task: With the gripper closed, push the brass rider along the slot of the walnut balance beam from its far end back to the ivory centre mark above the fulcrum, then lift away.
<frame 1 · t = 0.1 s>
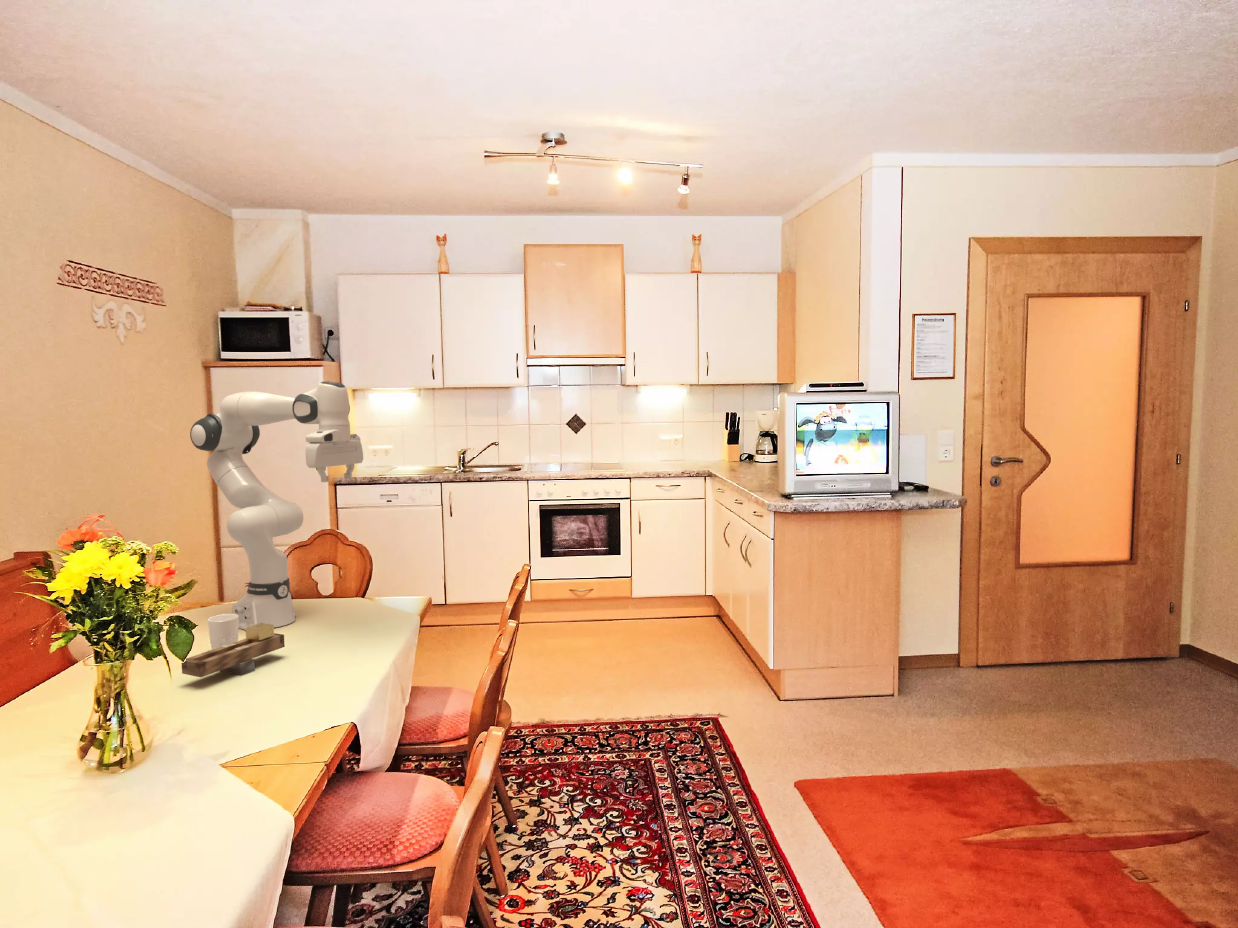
hand: (336, 480, 233), 48 cm above the table, tool pointing down, fingers open, 8 cm apart
white cup: (225, 651, 222), on the table
rider: (260, 635, 212), point 7 cm above the table, slide at 8.0 cm
beam: (236, 670, 206), on the table
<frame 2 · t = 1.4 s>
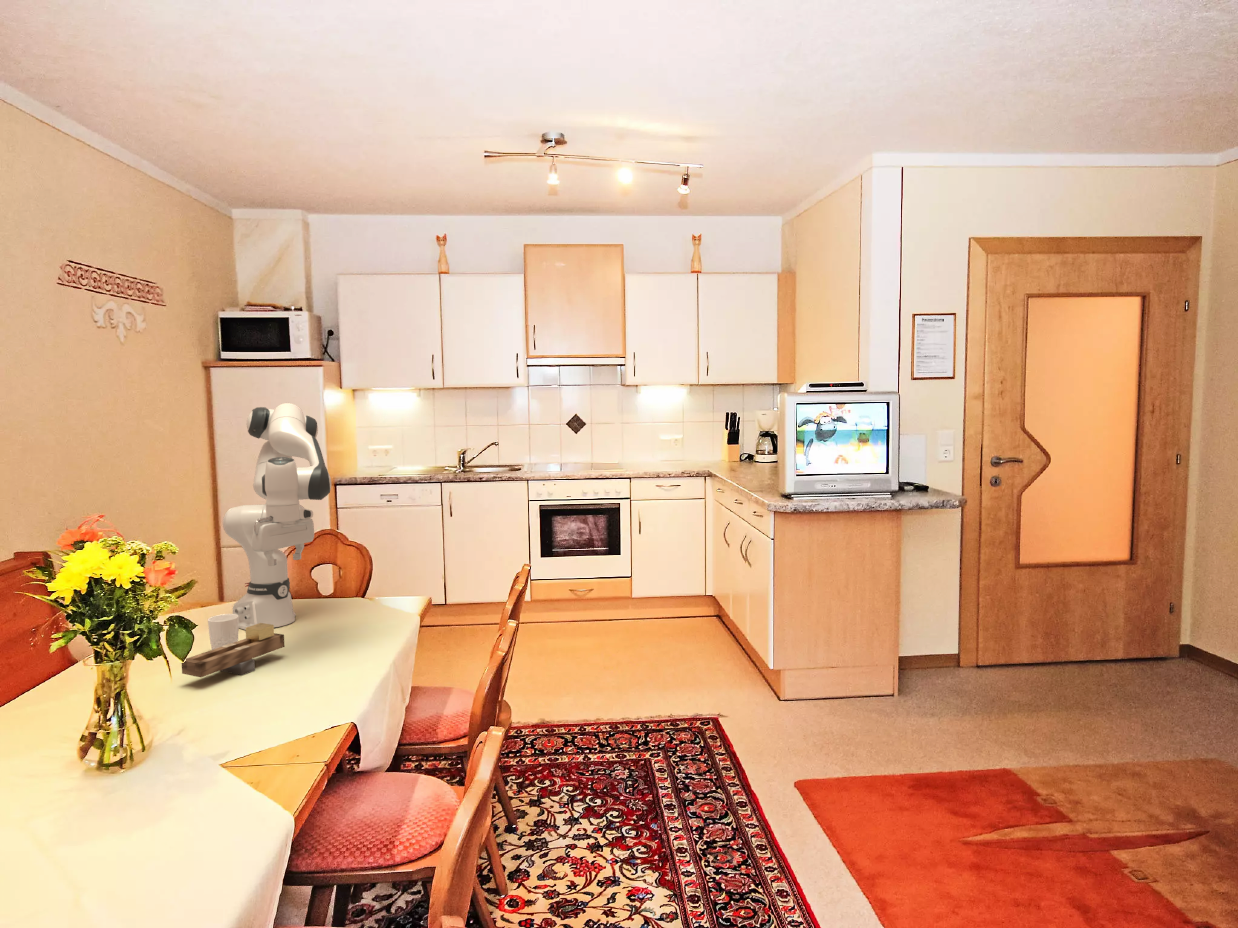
hand: (285, 562, 219), 26 cm above the table, tool pointing down, fingers open, 8 cm apart
nothing on the table moved.
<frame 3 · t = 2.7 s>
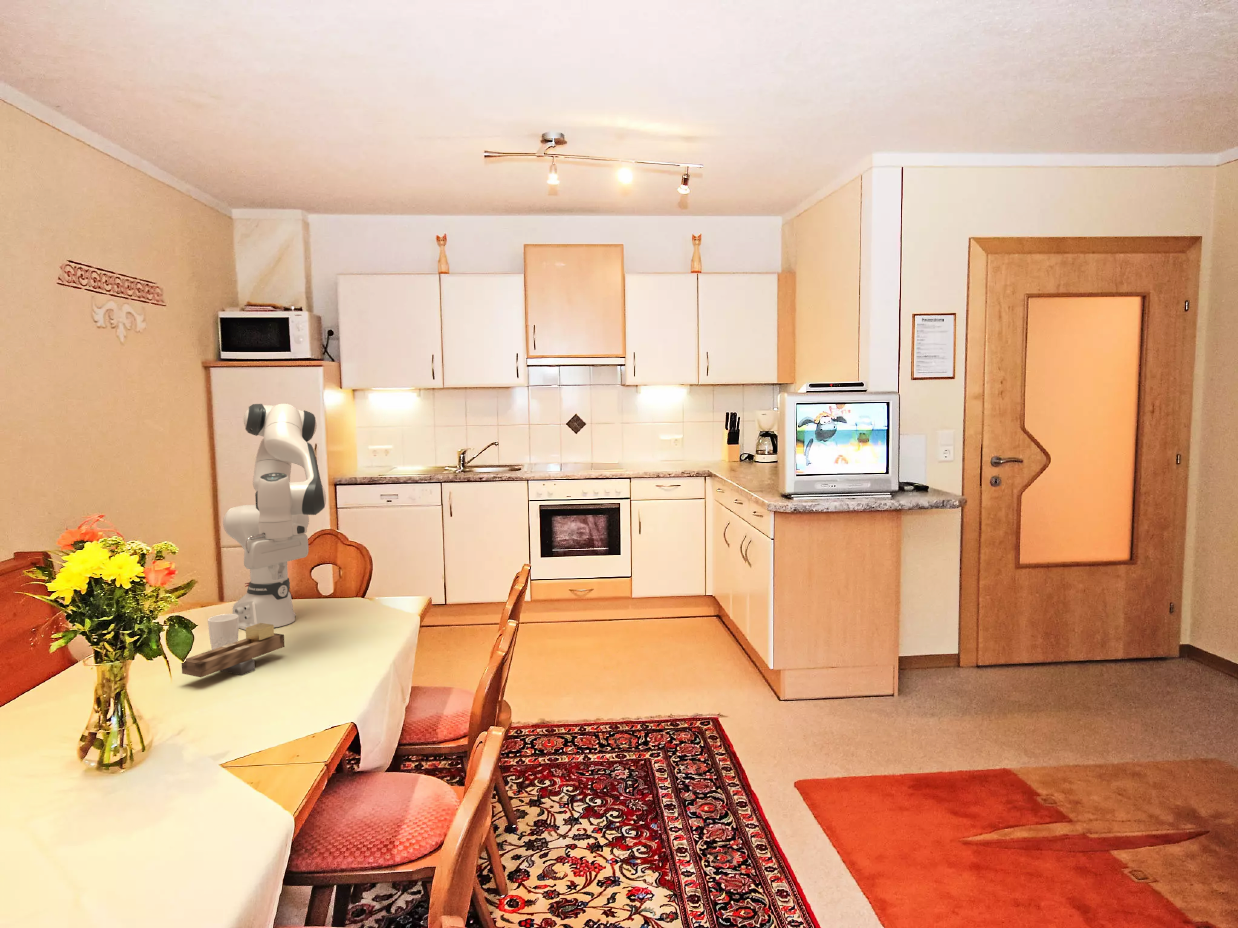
hand: (278, 578, 217), 22 cm above the table, tool pointing down, fingers closed
nothing on the table moved.
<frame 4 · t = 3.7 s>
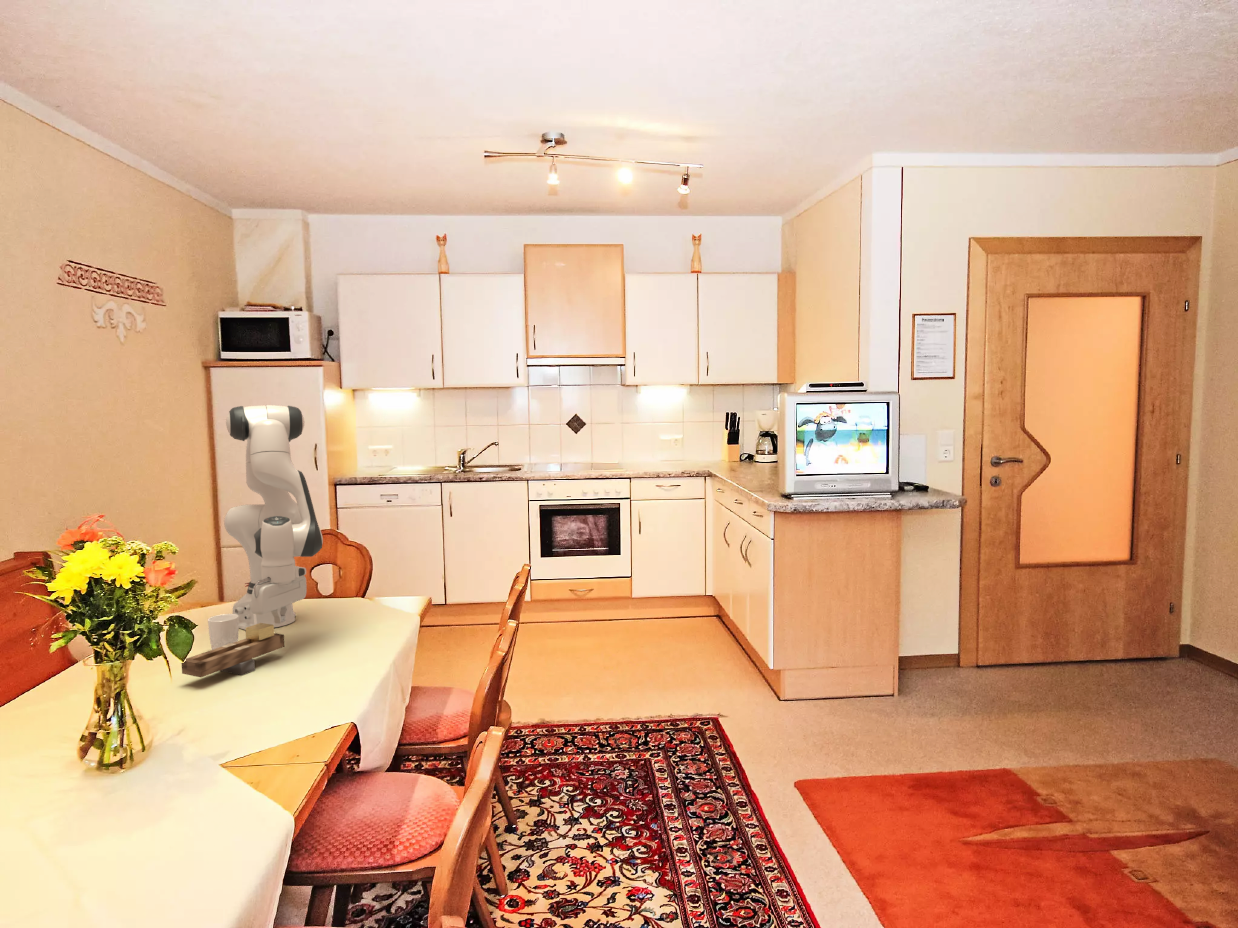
hand: (280, 622, 218), 9 cm above the table, tool pointing down, fingers closed
nothing on the table moved.
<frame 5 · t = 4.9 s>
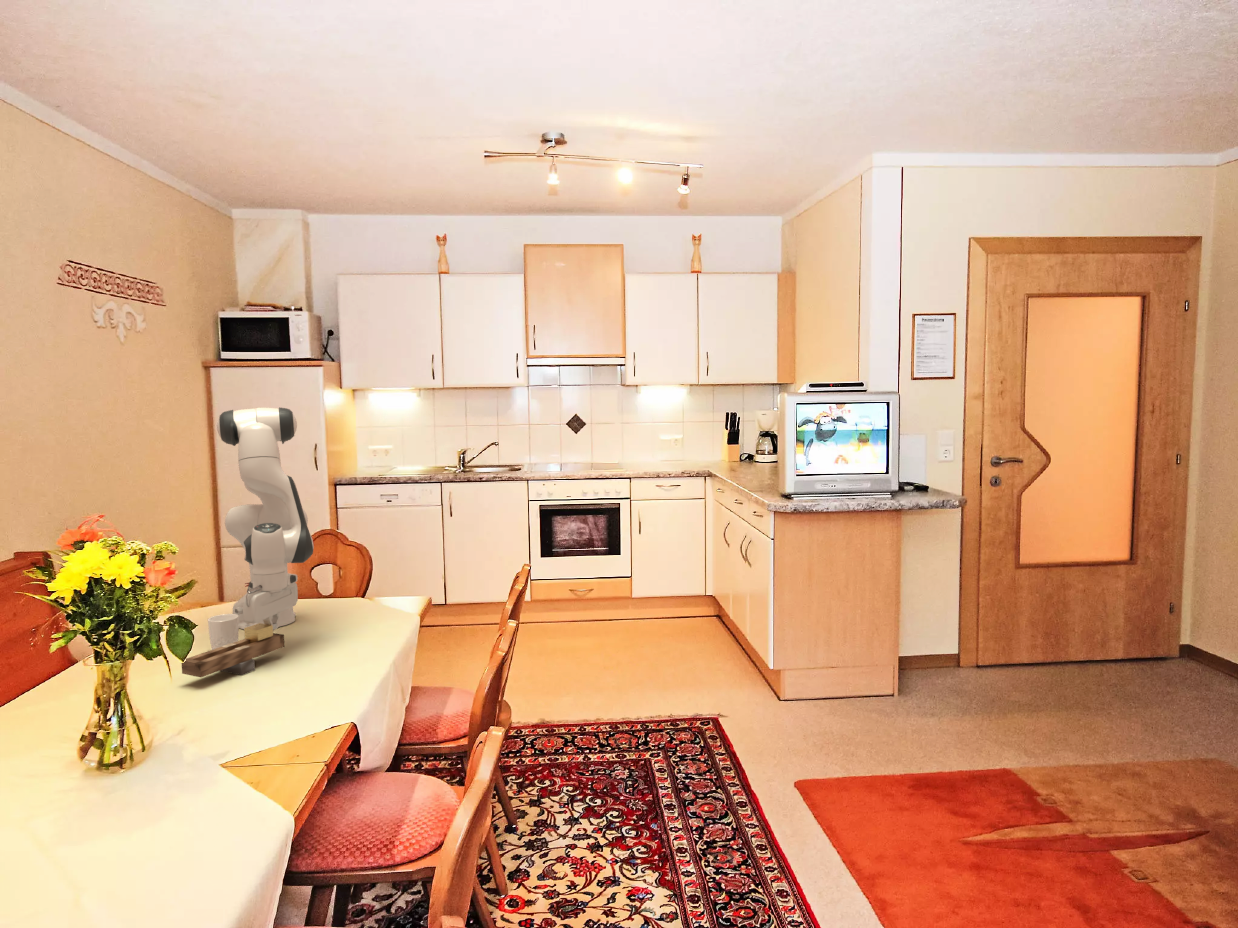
hand: (272, 629, 216), 8 cm above the table, tool pointing down, fingers closed
rider: (259, 635, 212), point 7 cm above the table, slide at 7.6 cm, touching gripper
everything else where it was.
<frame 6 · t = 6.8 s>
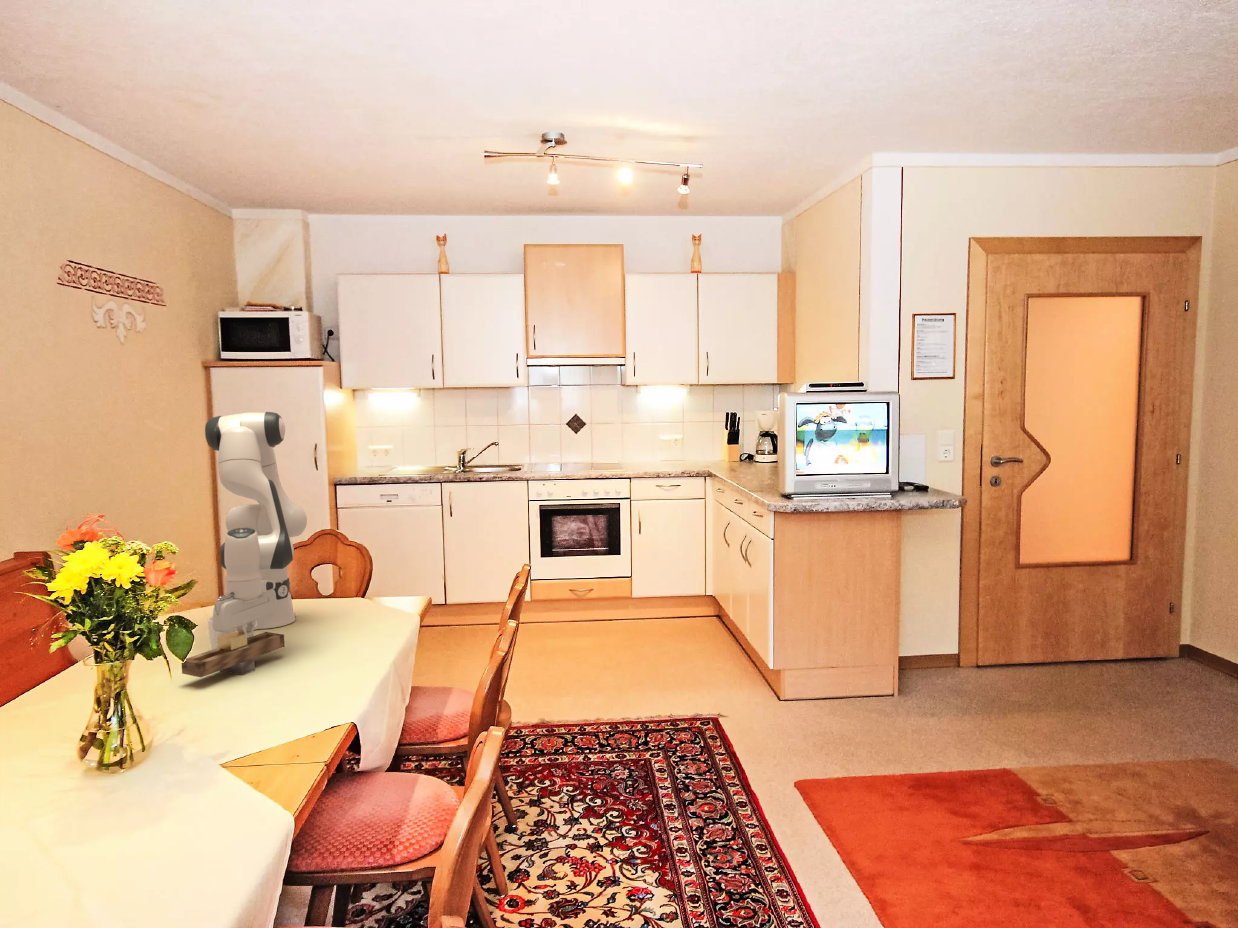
hand: (246, 638, 208), 8 cm above the table, tool pointing down, fingers closed
rider: (232, 644, 204), point 7 cm above the table, slide at -0.8 cm, touching gripper
everything else where it was.
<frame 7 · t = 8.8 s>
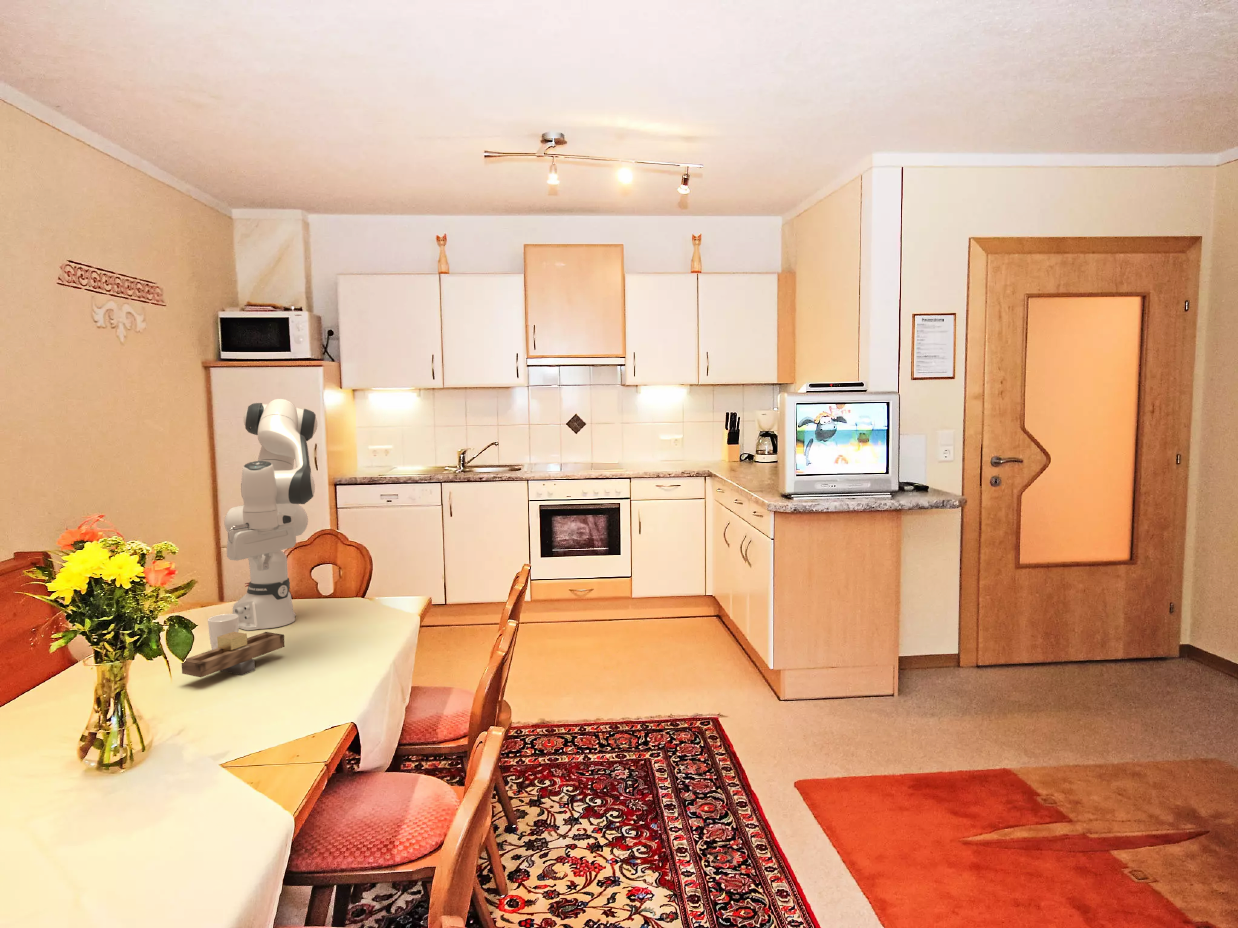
hand: (263, 569, 212), 25 cm above the table, tool pointing down, fingers closed
rider: (232, 644, 204), point 7 cm above the table, slide at -0.8 cm
everything else where it was.
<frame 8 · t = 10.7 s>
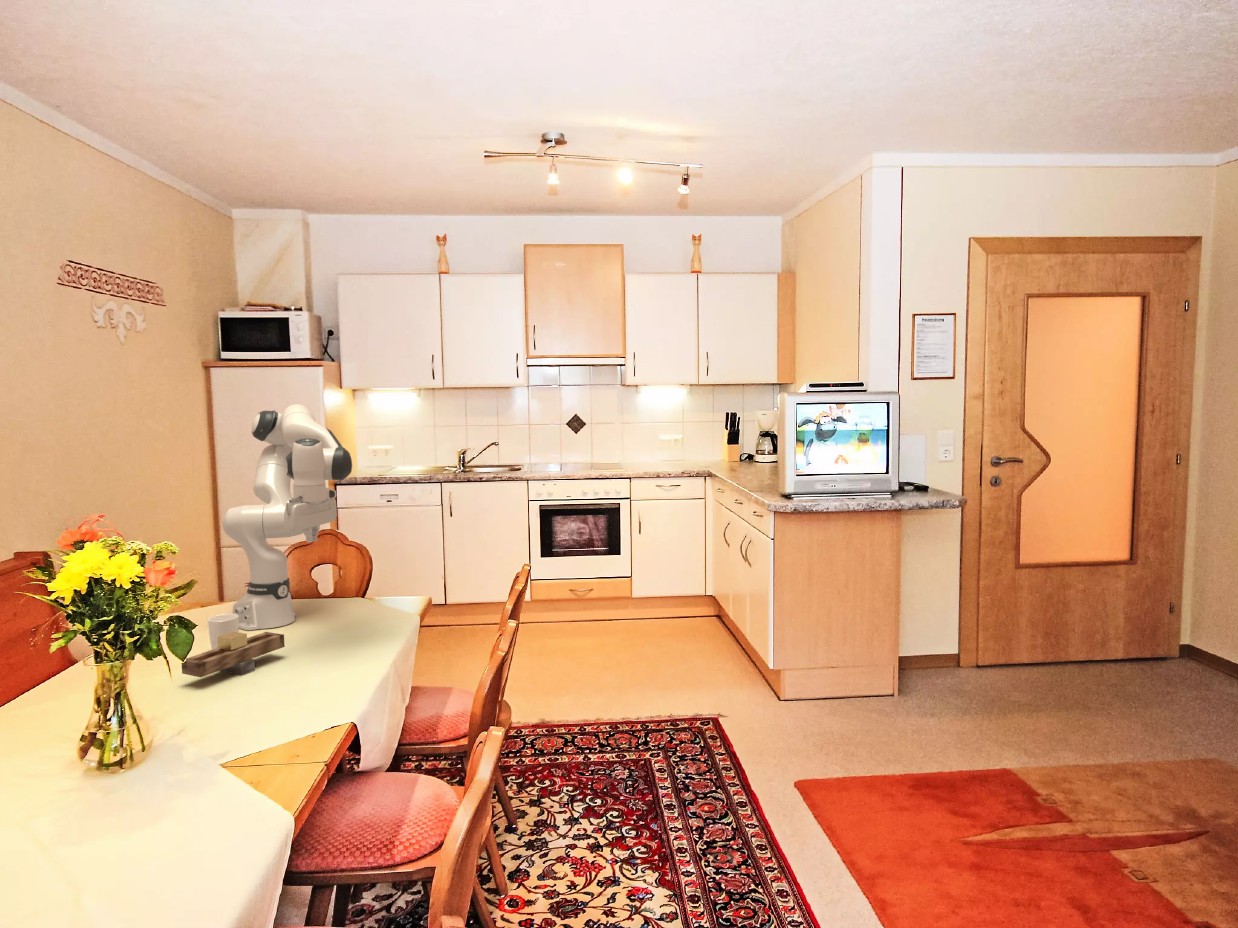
hand: (311, 541, 223), 31 cm above the table, tool pointing down, fingers closed
nothing on the table moved.
at the end: rider slide at -0.8 cm; the gripper is holding nothing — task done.
